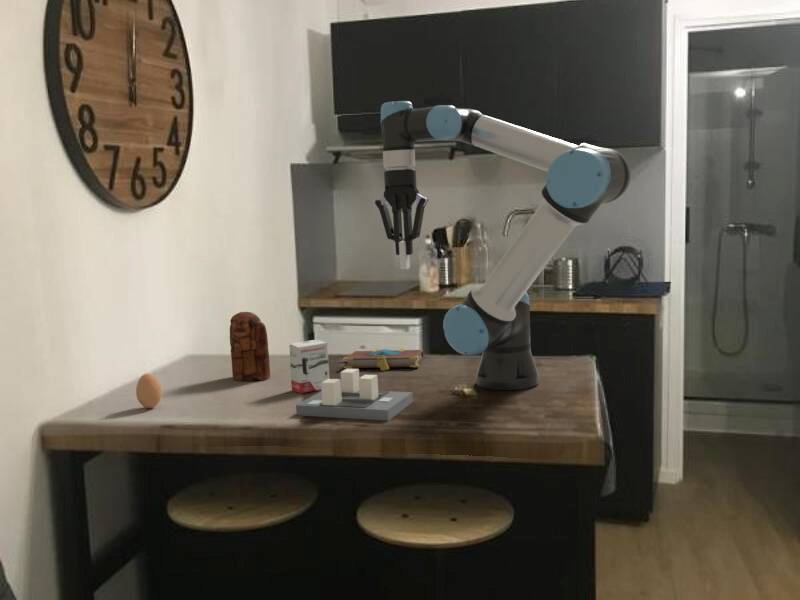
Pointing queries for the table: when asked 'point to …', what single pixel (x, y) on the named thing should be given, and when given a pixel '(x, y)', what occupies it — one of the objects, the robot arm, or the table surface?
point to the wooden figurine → (249, 348)
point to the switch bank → (357, 406)
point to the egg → (148, 391)
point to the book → (384, 359)
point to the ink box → (308, 365)
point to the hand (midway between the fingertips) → (405, 268)
